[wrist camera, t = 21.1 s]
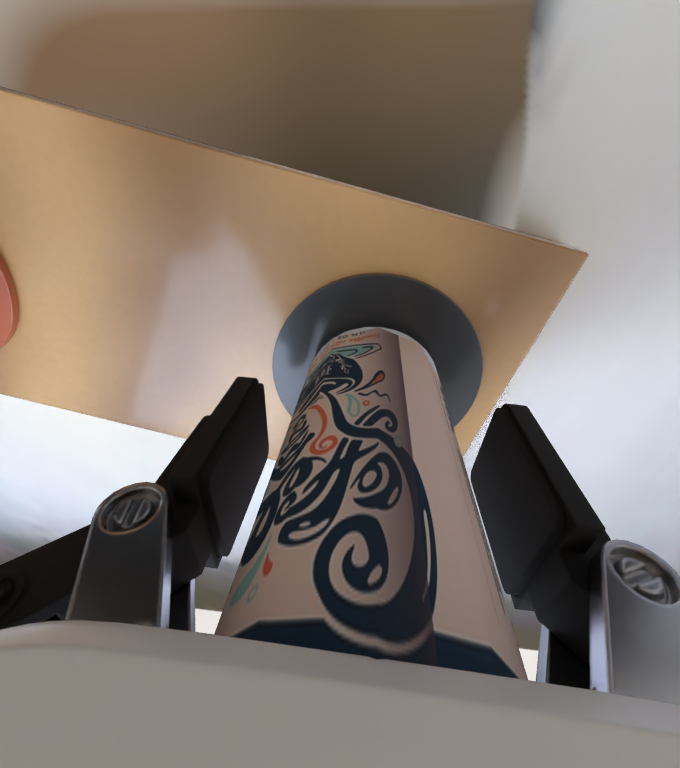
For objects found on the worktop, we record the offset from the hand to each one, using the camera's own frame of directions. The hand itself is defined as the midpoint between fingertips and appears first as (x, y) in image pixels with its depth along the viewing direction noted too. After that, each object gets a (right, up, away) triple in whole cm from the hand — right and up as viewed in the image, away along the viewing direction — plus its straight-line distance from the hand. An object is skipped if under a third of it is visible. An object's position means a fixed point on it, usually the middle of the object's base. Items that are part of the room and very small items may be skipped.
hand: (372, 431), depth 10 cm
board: (-8, +5, +4) cm, 10 cm away
